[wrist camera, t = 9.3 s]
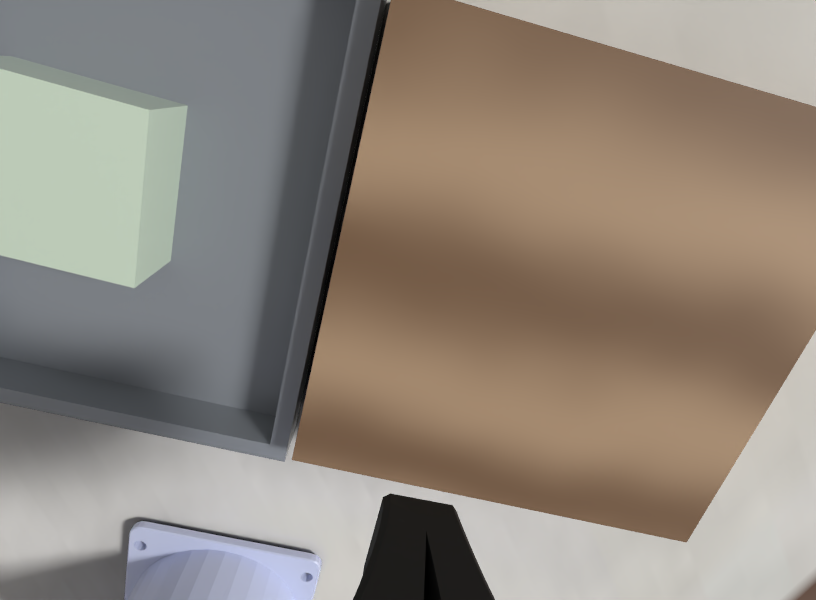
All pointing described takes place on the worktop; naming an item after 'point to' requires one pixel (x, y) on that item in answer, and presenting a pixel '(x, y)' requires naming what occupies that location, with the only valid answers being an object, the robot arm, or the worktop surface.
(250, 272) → the tray
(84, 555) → the worktop surface
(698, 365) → the wooden cutting board
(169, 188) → the block
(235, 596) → the robot arm
